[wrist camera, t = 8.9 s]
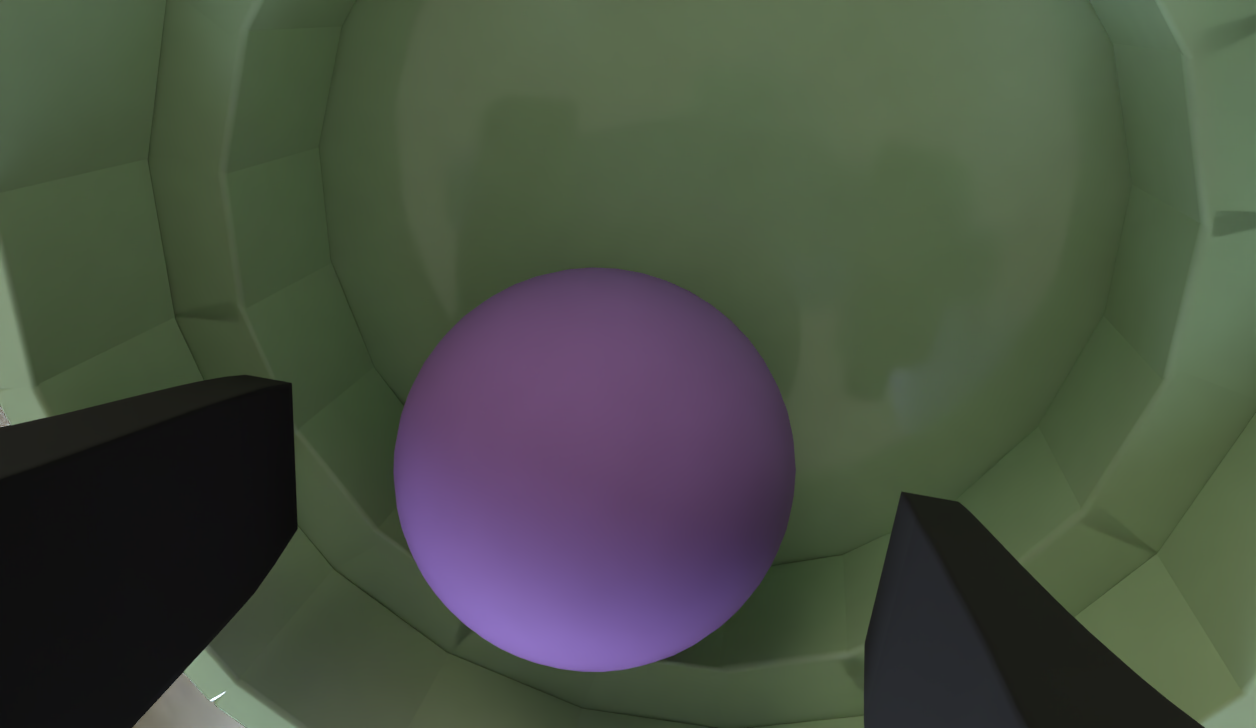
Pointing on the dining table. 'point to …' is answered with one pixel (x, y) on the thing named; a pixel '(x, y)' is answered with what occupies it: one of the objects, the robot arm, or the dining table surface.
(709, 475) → the lavender ball
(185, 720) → the dining table surface
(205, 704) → the dining table surface
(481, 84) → the bowl
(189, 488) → the robot arm
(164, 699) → the dining table surface
